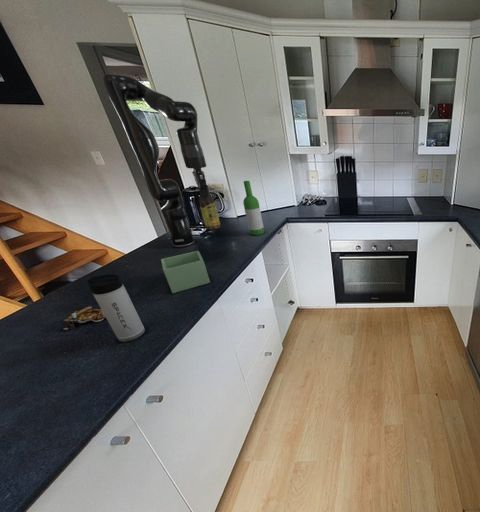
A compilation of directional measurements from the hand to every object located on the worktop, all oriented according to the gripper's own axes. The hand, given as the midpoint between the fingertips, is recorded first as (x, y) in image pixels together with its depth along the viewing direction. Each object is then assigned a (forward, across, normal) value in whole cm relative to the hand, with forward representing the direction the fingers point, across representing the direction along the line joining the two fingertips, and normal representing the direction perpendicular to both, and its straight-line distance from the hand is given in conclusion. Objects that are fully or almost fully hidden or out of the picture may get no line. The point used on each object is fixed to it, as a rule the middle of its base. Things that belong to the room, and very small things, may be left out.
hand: (204, 195), depth 122 cm
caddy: (+28, +22, -16) cm, 39 cm away
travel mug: (+28, +48, -34) cm, 65 cm away
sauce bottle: (+15, 0, 0) cm, 15 cm away
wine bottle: (+29, -16, +22) cm, 39 cm away
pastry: (+29, +30, -44) cm, 60 cm away
